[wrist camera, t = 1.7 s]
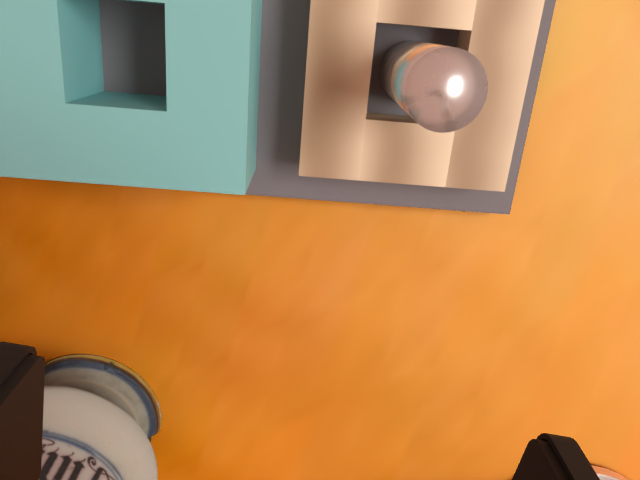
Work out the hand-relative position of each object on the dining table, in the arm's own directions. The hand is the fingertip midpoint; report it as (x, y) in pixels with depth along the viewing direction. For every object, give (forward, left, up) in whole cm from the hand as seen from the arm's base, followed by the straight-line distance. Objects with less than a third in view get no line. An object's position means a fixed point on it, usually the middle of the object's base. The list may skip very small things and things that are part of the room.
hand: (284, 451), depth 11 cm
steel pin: (-5, -6, -23) cm, 24 cm away
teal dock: (+9, -6, -23) cm, 25 cm away
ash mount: (-5, -6, -23) cm, 24 cm away
